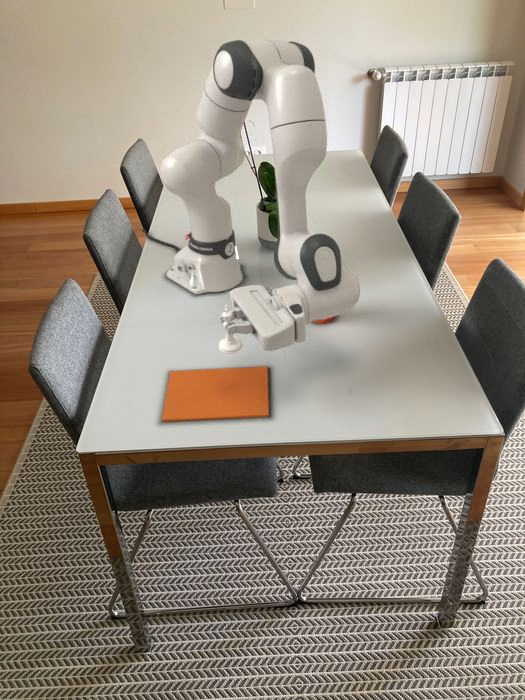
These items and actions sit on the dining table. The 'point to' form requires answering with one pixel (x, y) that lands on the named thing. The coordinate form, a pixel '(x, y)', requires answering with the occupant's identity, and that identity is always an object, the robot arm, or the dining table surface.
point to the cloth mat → (217, 394)
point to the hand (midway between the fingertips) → (224, 325)
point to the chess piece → (229, 336)
